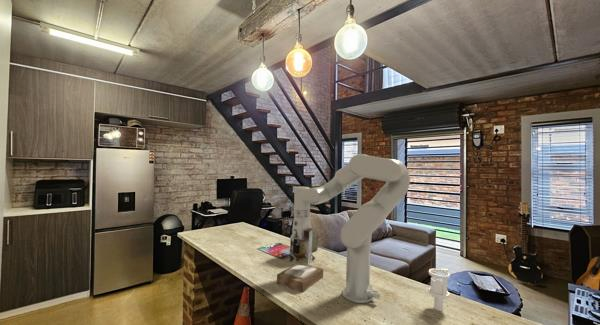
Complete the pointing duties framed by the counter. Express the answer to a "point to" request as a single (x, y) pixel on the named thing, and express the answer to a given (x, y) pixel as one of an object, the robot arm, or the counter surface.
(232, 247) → the counter surface
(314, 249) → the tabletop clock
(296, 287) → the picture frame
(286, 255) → the tablet
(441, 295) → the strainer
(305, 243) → the coffee box
